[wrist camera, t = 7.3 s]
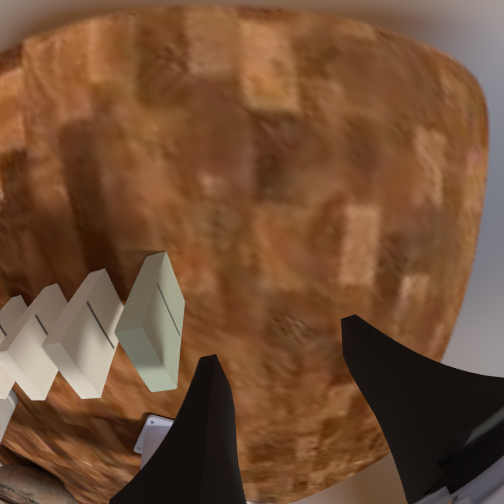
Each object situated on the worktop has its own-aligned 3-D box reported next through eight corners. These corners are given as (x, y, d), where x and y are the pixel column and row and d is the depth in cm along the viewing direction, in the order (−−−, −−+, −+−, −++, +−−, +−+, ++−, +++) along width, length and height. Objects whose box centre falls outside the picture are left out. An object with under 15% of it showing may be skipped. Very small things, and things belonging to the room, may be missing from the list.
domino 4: (166, 251, 18) (142, 326, 11) (185, 301, 20) (176, 388, 13) (146, 256, 18) (113, 332, 11) (166, 306, 20) (151, 392, 13)
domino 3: (105, 268, 18) (60, 342, 11) (128, 315, 20) (100, 397, 13) (89, 273, 18) (41, 345, 11) (112, 318, 20) (81, 398, 13)
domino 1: (20, 294, 18) (-28, 355, 11) (43, 333, 20) (6, 399, 12) (11, 297, 18) (-37, 356, 11) (33, 335, 20) (-4, 398, 12)
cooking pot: (28, 479, 35) (19, 517, 23) (-21, 435, 27) (-37, 478, 16) (113, 501, 37) (110, 547, 26) (66, 463, 29) (54, 523, 18)
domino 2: (57, 282, 18) (6, 351, 11) (80, 325, 20) (45, 399, 13) (45, 287, 18) (-6, 352, 11) (68, 328, 20) (31, 399, 12)
